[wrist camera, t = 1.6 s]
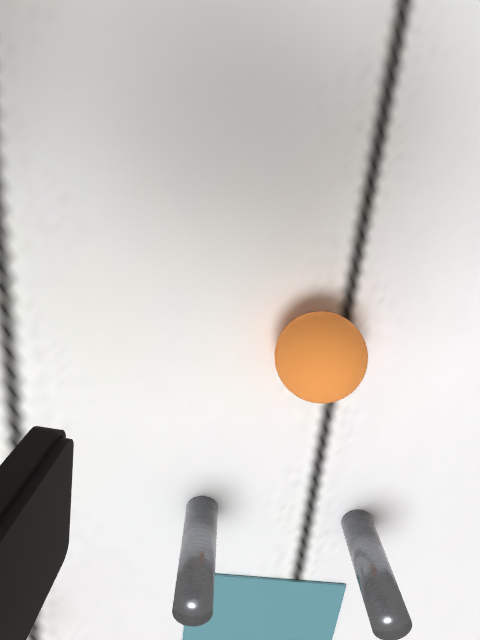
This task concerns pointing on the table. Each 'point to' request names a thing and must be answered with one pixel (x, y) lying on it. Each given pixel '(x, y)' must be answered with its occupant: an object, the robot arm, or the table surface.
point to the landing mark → (270, 610)
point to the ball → (321, 357)
